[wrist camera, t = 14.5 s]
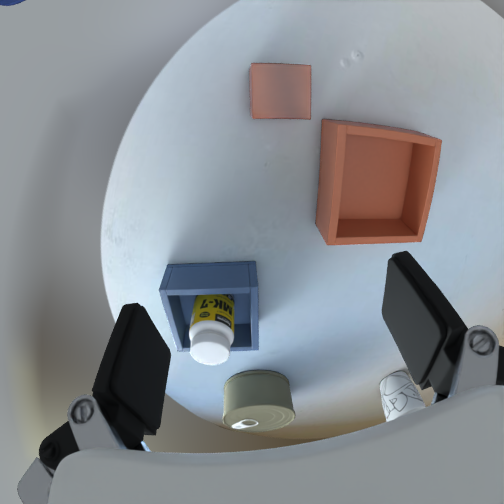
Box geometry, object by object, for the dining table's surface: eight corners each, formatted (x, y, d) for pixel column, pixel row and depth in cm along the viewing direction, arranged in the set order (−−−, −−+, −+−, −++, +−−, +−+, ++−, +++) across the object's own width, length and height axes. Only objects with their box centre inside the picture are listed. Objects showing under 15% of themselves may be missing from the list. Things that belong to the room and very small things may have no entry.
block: (249, 115, 23) (252, 118, 19) (248, 68, 21) (251, 62, 17) (298, 115, 23) (310, 119, 19) (299, 70, 21) (311, 65, 17)
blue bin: (181, 325, 36) (177, 351, 32) (167, 264, 31) (158, 289, 27) (256, 323, 37) (258, 350, 33) (255, 260, 31) (258, 286, 27)
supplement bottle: (238, 288, 33) (239, 344, 25) (229, 316, 35) (228, 370, 28) (198, 280, 32) (189, 335, 24) (192, 309, 34) (183, 363, 27)
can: (302, 386, 46) (308, 418, 41) (251, 407, 50) (253, 436, 44) (263, 360, 41) (267, 397, 35) (208, 385, 45) (207, 418, 39)
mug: (417, 376, 50) (432, 411, 42) (387, 395, 53) (399, 430, 45) (402, 363, 46) (420, 403, 37) (368, 384, 49) (381, 424, 40)
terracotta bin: (315, 223, 29) (326, 245, 25) (321, 118, 23) (337, 124, 19) (402, 222, 30) (421, 242, 26) (416, 131, 24) (442, 140, 20)
